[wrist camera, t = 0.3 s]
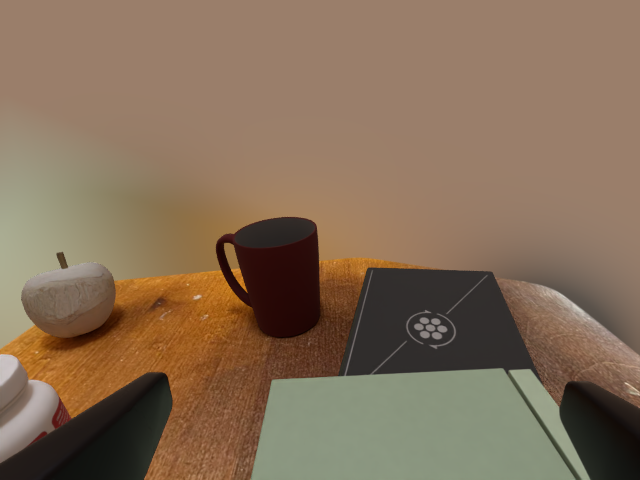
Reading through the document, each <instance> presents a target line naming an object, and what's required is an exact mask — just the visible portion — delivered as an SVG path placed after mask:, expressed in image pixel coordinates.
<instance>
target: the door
mask: <svg viewBox="0 0 640 480" xmlns="http://www.w3.org/2000/svg"><path fill="white" fill-rule="evenodd" d="M508 377H509V378H510V380H511V381H512V383H513V385H514V386H515V388H516V389H517V391H518V392H519V394H520V395H521V397H522V398H523V400H524V401H525V403H526V404H527V406H528V407H529V409H530V411H531V412H532V414H533V415H534V417H535V418H536V420H537V421H538V423H539V424H540V426H541V427H542V429H543V430H544V432H545V433H546V435H547V436H548V438H549V440H550V441H551V443H552V444H553V446H554V447H555V449H556V450H557V452H558V453H559V455H560V456H561V458H562V459H563V461H564V462H565V464H566V466H567V467H568V469H569V470H570V472H571V473H572V475H573V476H574V478H575V479H576V480H590V478H589V476H588V474H587V472H586V470H585V468H584V466H583V464H582V462H581V460H580V458H579V456H578V454H577V452H576V450H575V448H574V446H573V444H572V442H571V440H570V438H569V436H568V434H567V432H566V430H565V429H564V427H563V425H562V422H561V419H560V415H559V409H560V408H559V407H558V405H557V404H556V403H555V401H554V400H553V399H552V397H551V396H550V395H549V393H548V392H547V391H546V389H545V388H544V387H543V385H542V384H541V383H540V381H539V380H538V379H537V377H536V376H535V375H534V373H533V372H532V371H531V370H530V369H522V370H509V372H508Z"/></svg>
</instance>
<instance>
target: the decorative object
mask: <svg viewBox="0 0 640 480" xmlns="http://www.w3.org/2000/svg"><path fill="white" fill-rule="evenodd" d="M57 258H58V260H59V263H60V265H61V269H57V270H52V271H48V272H44V273H41V274H38V275H36V276H34V277H32V278H31V279H30V280H28V281H27V282H26V284H25V286H24V287H23V290H22V297H21V298H22V299H21V300H22V303H23V306H24V309H25V311H26V313H27V315H28V317H29V318H30V319H31V320H32V321H33V323H34V324H35V325H36V326H37V327H39V328H40V329H41V330H42V331H44V332H46V333H48V334H50V335H52V336H56V337H61V338H71V337H76V336H78V335H82V334H85V333H88V332H90V331H93V330H95V329H97V328H99V327H100V326H101V325H102V324H103V323H104V322H105V321H106V320H107V319H108V318H109V316H110V314H111V312H112V310H113V307H114V302H115V294H116V292H115V291H116V290H115V284H114V280H113V276H112V274H111V273H110V271H109V270H108V269H107V268H106V267H104V266H102V265H101V264H98V263H83V264H78V265H74V266H69V267H68V266H67V263H66V260H65V257H64V254H63V252H59V253H57Z"/></svg>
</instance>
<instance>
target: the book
mask: <svg viewBox="0 0 640 480" xmlns="http://www.w3.org/2000/svg"><path fill="white" fill-rule="evenodd" d="M498 368H502V369H504V371H505V372H506V374H507V375H508V372H509V370H522V369H530V370H531V371H532V372H533V373H534V375H535V376H536V377H537V379H538V380H539V381H540V383H541V384H542V382H541V379H540V377H539V375H538V373H537V370H536V368H535V366H534V364H533V362H532V359H531V357H530V355H529V353H528V350H527V348H526V346H525V344H524V342H523V339H522V337H521V335H520V333H519V330H518V328H517V326H516V324H515V321H514V319H513V317H512V315H511V313H510V310H509V308H508V306H507V304H506V301H505V299H504V297H503V295H502V292H501V290H500V288H499V286H498V284H497V281H496V279H495V277H494V275H493V273H492V272H487V271H486V272H484V271H457V270H428V269H398V268H368V269H367V271H366V275H365V279H364V282H363V286H362V290H361V294H360V297H359V301H358V305H357V308H356V312H355V316H354V319H353V323H352V327H351V331H350V334H349V338H348V342H347V345H346V349H345V353H344V356H343V360H342V364H341V368H340V371H339V375H338V376H358V375H378V374H398V373H418V372H438V371H458V370H478V369H498ZM542 385H543V384H542ZM543 387H544V386H543Z"/></svg>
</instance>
